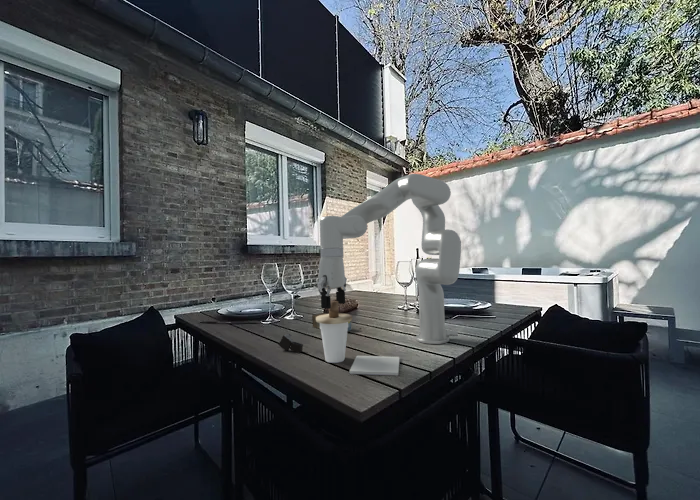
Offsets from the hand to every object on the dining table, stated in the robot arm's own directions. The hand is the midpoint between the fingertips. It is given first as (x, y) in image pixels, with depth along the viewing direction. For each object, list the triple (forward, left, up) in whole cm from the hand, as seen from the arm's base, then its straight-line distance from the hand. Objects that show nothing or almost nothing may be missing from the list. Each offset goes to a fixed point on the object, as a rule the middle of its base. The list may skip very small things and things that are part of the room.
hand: (333, 305), depth 110 cm
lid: (0, 0, -5) cm, 5 cm away
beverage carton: (+11, -42, -18) cm, 47 cm away
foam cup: (0, 0, -18) cm, 18 cm away
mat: (-14, +5, -18) cm, 23 cm away
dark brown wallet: (+18, -8, -18) cm, 27 cm away
